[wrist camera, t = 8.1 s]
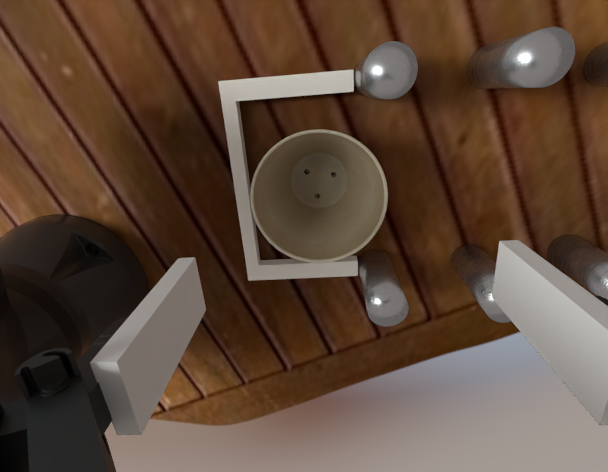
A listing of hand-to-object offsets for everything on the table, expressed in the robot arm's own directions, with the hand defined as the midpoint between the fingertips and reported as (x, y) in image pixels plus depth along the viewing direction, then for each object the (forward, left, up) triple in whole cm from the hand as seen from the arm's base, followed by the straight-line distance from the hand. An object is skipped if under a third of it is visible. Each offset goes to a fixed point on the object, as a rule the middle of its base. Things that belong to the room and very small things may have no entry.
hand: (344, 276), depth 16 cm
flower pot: (-1, 0, -18) cm, 18 cm away
